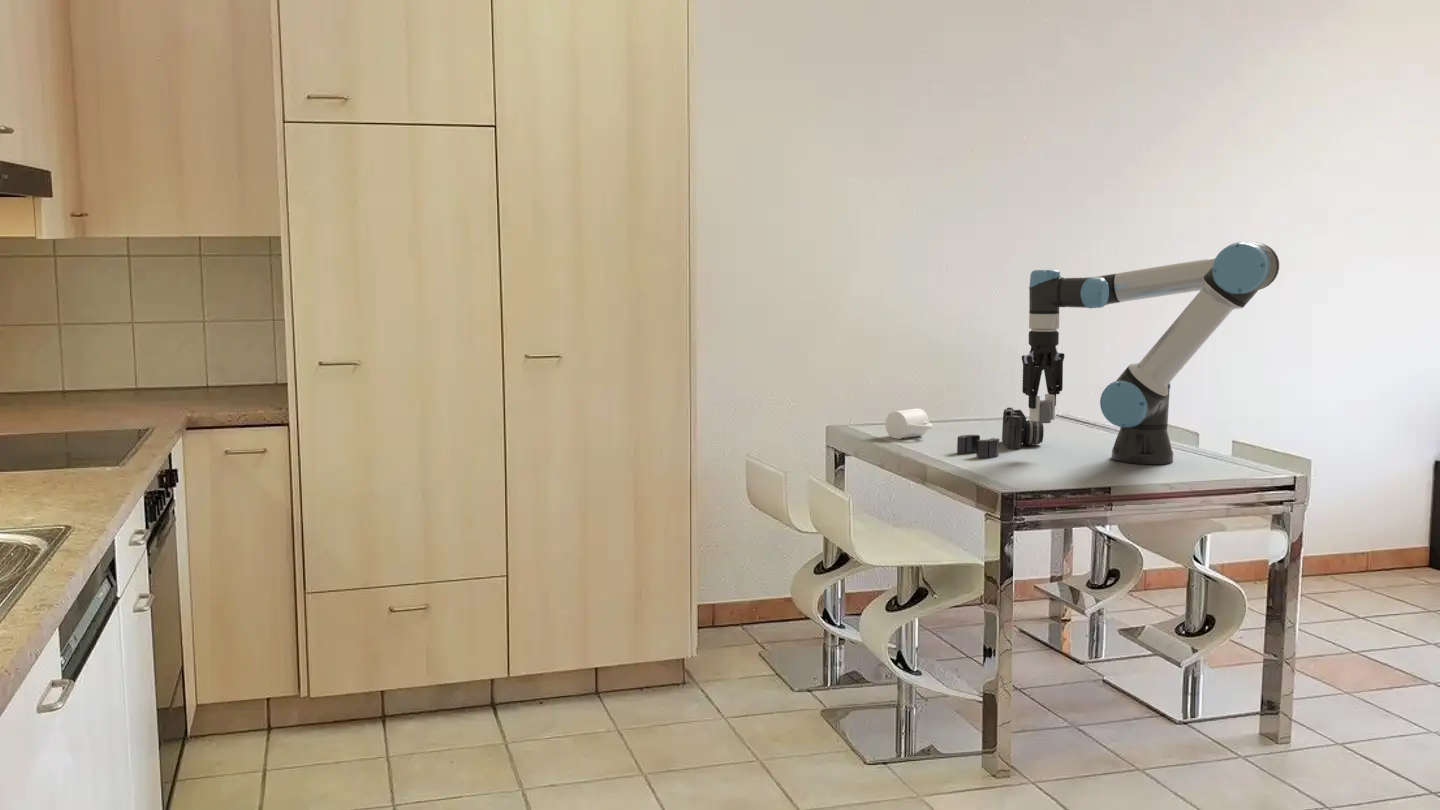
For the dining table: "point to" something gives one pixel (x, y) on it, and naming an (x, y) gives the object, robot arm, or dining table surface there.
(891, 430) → the mug
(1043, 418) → the grey cylinder block
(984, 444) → the clustered grey blocks
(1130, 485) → the dining table surface
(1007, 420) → the camera
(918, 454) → the dining table surface
